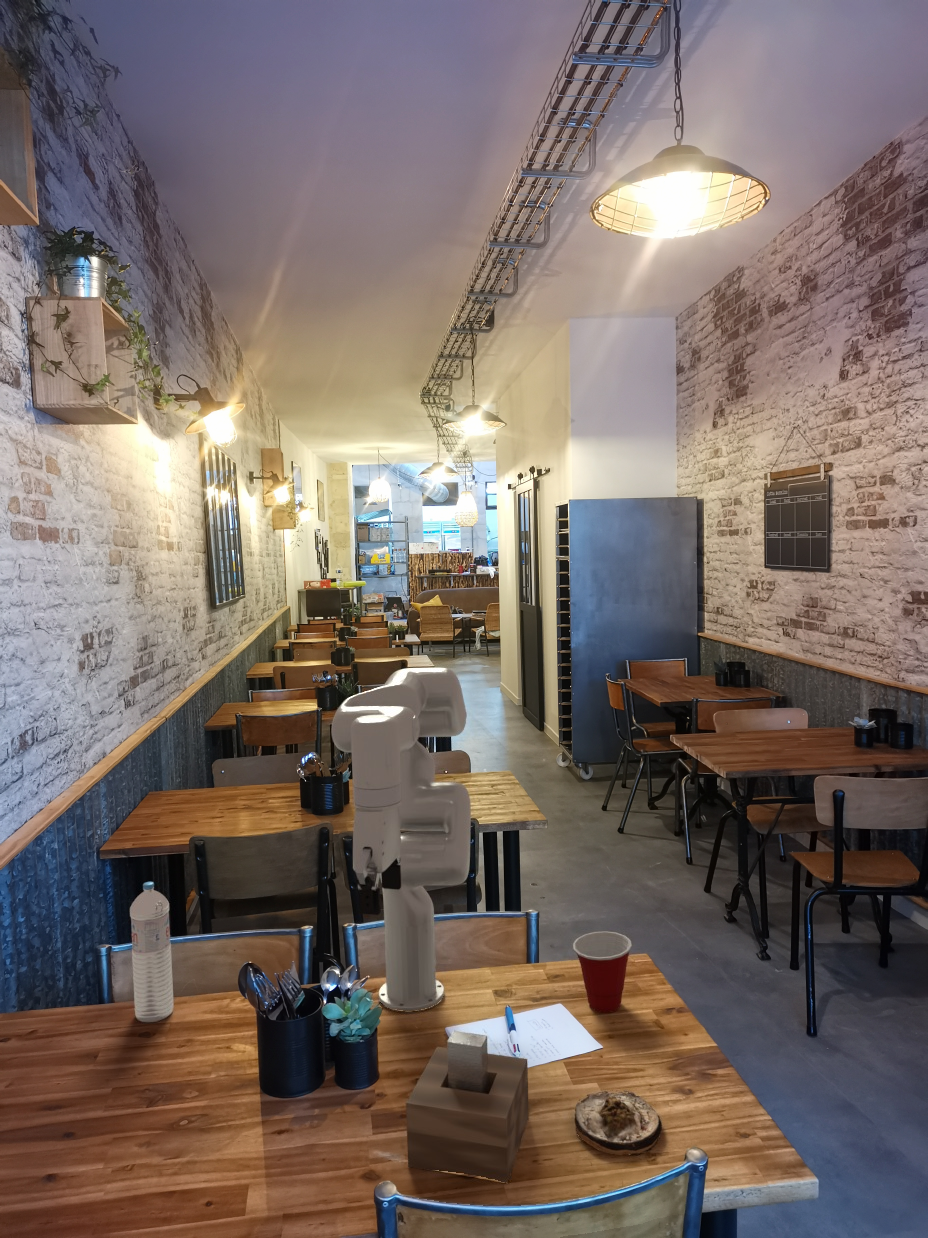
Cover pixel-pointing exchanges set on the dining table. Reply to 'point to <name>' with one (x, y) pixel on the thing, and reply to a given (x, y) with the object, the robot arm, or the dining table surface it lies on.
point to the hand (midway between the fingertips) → (381, 900)
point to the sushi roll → (617, 1123)
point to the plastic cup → (603, 968)
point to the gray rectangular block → (468, 1062)
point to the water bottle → (151, 955)
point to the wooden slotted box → (468, 1119)
